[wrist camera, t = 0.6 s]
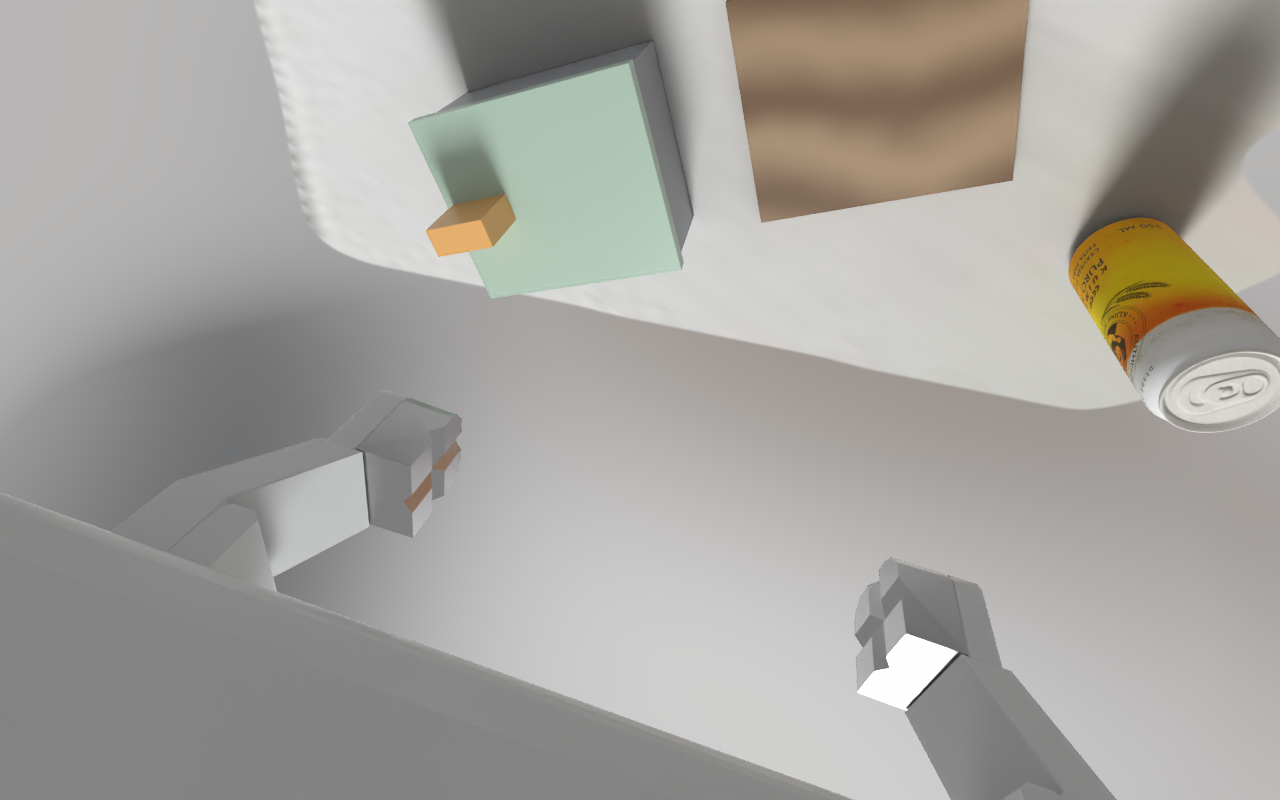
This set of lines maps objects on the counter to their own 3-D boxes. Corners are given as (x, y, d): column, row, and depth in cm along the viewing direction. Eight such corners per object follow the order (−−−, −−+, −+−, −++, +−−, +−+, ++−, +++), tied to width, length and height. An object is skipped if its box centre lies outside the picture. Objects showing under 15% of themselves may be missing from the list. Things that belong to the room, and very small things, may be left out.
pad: (727, -1, 37) (725, 2, 37) (1031, -90, 32) (1036, -89, 31) (762, 216, 46) (761, 222, 45) (1009, 174, 40) (1012, 180, 40)
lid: (424, 112, 40) (373, 144, 35) (637, 53, 35) (610, 82, 30) (502, 283, 47) (468, 328, 43) (686, 254, 42) (670, 301, 38)
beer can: (1057, 235, 42) (1144, 367, 31) (1168, 196, 39) (1307, 327, 28) (1072, 305, 45) (1157, 449, 34) (1176, 274, 42) (1306, 421, 31)
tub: (467, 92, 44) (421, 121, 39) (653, 39, 40) (628, 66, 34) (529, 244, 51) (498, 287, 46) (693, 215, 47) (678, 259, 41)
